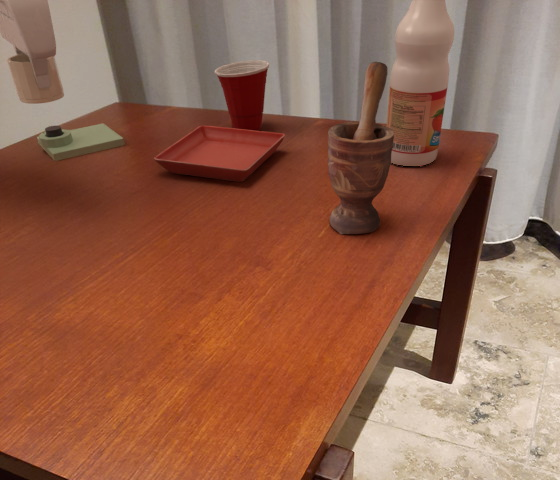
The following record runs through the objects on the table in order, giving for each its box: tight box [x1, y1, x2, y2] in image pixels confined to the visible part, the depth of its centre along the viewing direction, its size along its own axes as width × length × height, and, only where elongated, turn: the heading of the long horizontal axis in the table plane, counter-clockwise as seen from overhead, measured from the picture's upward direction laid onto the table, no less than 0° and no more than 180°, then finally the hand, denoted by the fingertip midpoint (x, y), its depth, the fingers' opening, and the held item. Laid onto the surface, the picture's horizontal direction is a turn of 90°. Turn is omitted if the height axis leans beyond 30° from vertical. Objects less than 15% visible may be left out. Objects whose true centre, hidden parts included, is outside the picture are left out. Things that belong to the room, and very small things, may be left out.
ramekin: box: [6, 54, 65, 105], centre depth 83 cm, size 6×6×6 cm
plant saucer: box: [153, 124, 286, 183], centre depth 100 cm, size 18×18×3 cm
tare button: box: [44, 125, 63, 137], centre depth 107 cm, size 3×3×2 cm
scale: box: [36, 122, 126, 162], centre depth 110 cm, size 14×12×3 cm
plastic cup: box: [214, 59, 270, 131], centre depth 111 cm, size 11×11×12 cm
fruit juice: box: [385, 0, 455, 167], centre depth 90 cm, size 9×9×28 cm
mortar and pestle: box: [327, 61, 394, 235], centre depth 76 cm, size 12×9×20 cm
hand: (38, 81), depth 83 cm, fingers closed on ramekin, 6 cm apart
